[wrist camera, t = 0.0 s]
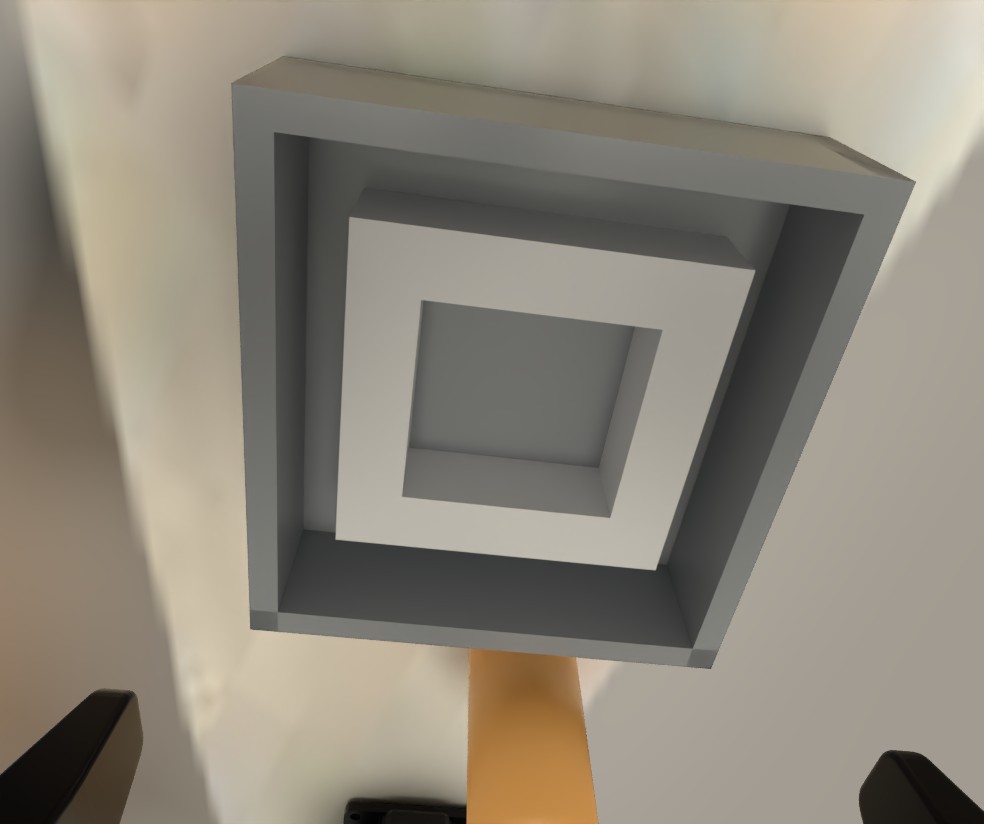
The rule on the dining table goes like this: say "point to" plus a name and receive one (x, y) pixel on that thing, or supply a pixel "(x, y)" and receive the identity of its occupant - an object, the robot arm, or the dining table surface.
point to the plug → (527, 741)
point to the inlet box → (529, 356)
